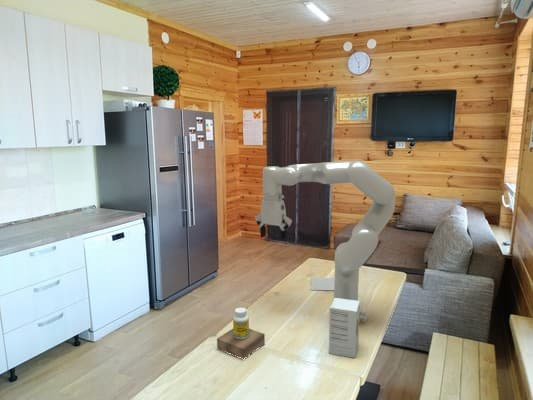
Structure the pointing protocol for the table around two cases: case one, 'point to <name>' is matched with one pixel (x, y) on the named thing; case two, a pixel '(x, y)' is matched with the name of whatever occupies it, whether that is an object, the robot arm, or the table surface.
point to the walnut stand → (240, 343)
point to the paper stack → (322, 283)
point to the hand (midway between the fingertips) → (273, 238)
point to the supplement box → (344, 327)
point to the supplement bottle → (241, 324)
